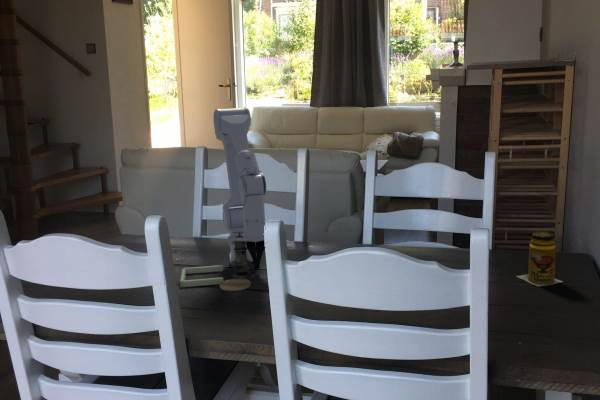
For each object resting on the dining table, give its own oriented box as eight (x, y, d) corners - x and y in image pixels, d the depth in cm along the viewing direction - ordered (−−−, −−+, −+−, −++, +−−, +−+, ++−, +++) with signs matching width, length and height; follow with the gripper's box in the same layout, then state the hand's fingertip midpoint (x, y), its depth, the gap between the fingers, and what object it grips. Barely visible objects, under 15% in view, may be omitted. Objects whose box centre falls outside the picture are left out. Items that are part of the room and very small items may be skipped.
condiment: (539, 287, 146) (541, 239, 143) (515, 277, 154) (517, 231, 151) (563, 282, 148) (565, 235, 146) (538, 272, 156) (540, 227, 154)
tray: (183, 273, 167) (182, 268, 167) (223, 270, 169) (222, 265, 168) (180, 287, 156) (180, 281, 156) (223, 283, 157) (223, 278, 157)
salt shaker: (249, 279, 160) (246, 235, 158) (228, 278, 161) (225, 235, 159) (255, 272, 166) (253, 229, 163) (234, 271, 167) (232, 229, 165)
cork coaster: (219, 281, 159) (219, 280, 159) (250, 279, 160) (250, 277, 160) (219, 292, 151) (219, 290, 151) (251, 289, 152) (251, 287, 152)
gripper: (227, 224, 156) (230, 275, 159) (282, 220, 158) (285, 270, 161) (226, 218, 163) (229, 267, 166) (280, 215, 165) (282, 262, 168)
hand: (256, 268), depth 164 cm, fingers closed
